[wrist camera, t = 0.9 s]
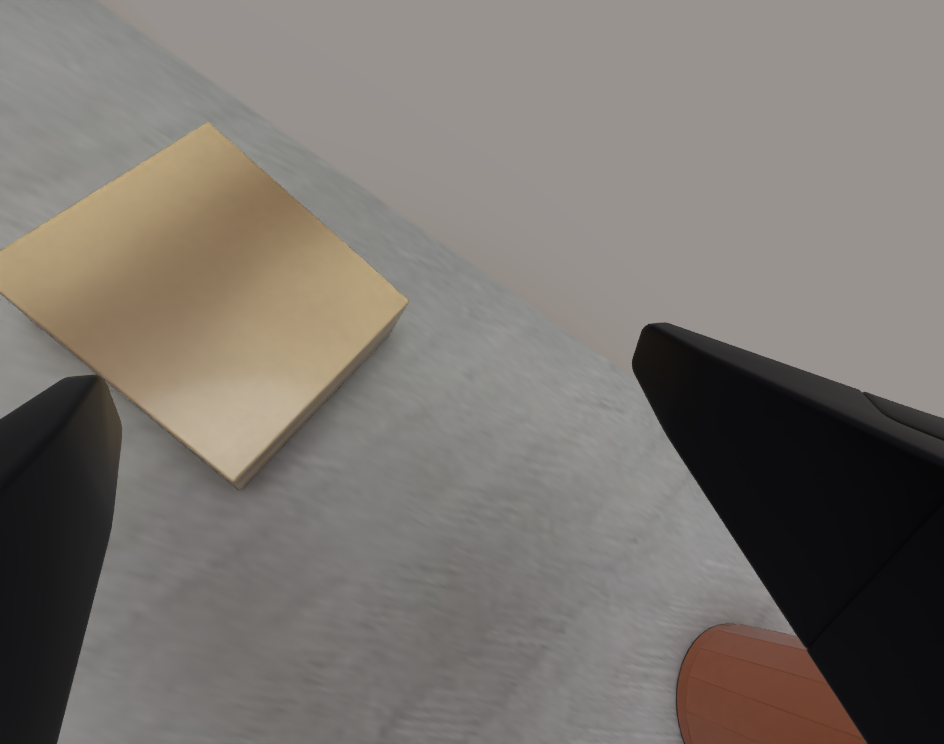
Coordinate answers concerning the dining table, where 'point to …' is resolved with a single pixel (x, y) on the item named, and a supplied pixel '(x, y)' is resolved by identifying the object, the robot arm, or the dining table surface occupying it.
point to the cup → (757, 692)
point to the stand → (205, 299)
